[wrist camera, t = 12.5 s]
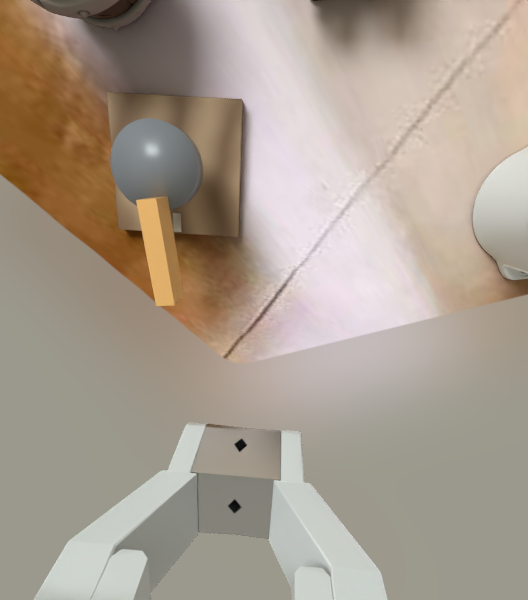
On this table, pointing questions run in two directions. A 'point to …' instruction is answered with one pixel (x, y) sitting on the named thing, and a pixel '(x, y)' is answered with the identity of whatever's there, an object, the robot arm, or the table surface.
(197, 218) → the base plate
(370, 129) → the table surface
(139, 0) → the flowerpot
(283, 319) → the table surface
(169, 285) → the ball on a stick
